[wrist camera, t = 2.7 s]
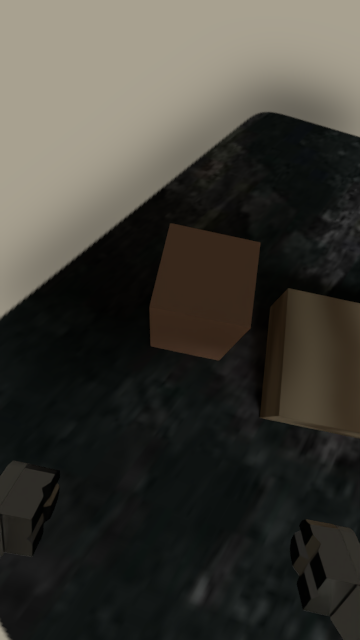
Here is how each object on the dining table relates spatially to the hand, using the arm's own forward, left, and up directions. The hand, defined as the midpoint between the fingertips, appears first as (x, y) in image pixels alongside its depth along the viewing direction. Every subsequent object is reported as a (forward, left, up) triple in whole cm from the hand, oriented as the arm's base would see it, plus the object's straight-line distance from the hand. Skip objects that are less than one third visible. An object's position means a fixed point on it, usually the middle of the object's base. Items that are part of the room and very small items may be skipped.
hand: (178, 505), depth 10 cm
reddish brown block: (0, -12, -14) cm, 18 cm away
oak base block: (-12, -10, -14) cm, 21 cm away
